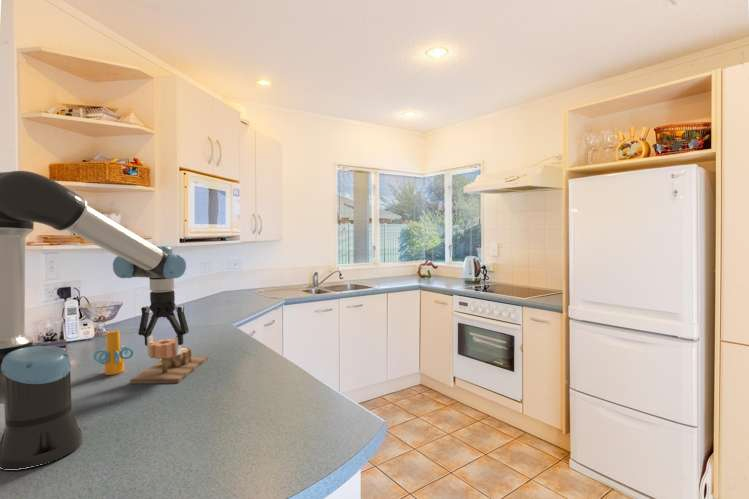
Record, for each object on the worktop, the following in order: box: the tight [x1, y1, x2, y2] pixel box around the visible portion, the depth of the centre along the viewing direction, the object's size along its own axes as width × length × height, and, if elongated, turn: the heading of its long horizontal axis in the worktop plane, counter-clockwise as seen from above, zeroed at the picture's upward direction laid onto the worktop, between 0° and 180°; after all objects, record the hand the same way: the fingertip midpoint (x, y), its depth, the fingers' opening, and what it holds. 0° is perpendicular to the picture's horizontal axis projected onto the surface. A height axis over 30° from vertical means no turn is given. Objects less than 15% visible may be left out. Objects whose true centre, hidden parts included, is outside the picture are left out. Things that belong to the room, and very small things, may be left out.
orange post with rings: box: [93, 329, 134, 376], centre depth 142 cm, size 12×10×15 cm
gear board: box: [129, 347, 208, 384], centre depth 144 cm, size 24×16×7 cm, turn 1°
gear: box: [149, 338, 176, 360], centre depth 139 cm, size 9×9×4 cm
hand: (164, 354), depth 139 cm, fingers closed on gear, 9 cm apart
